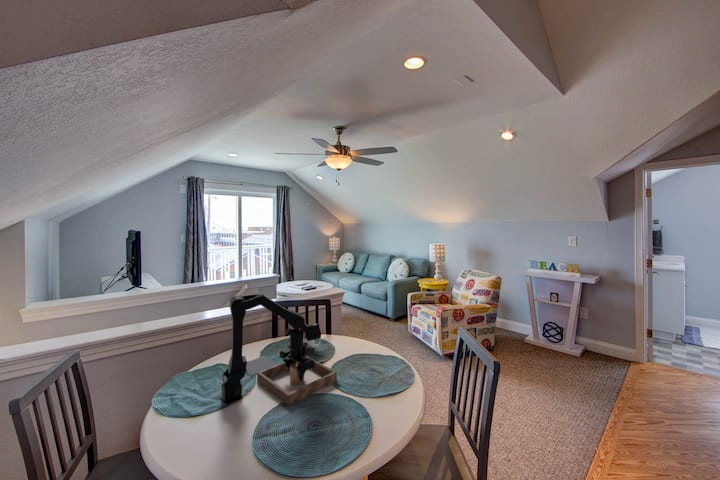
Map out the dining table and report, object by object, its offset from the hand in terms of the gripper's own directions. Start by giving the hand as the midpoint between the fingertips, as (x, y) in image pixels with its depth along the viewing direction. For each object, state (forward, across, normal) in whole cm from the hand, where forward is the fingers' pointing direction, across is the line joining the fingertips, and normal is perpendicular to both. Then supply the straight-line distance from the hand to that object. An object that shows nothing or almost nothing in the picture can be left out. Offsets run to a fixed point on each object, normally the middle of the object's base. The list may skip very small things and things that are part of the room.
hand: (297, 377), depth 130 cm
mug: (+2, +22, -23) cm, 32 cm away
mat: (+2, +25, +5) cm, 26 cm away
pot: (+2, 0, 0) cm, 2 cm away
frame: (+2, 0, 0) cm, 2 cm away
